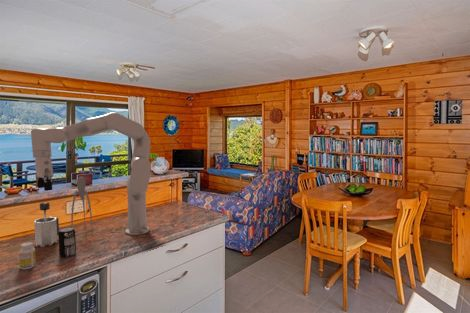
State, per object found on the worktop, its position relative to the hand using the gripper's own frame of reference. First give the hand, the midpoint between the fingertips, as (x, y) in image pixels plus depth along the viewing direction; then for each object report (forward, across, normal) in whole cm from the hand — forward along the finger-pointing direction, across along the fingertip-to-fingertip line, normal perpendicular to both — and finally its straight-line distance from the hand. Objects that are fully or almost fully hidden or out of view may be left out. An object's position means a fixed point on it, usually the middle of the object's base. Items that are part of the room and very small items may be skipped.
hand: (45, 188), depth 141 cm
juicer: (+28, +10, -21) cm, 36 cm away
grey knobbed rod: (+25, 0, +1) cm, 25 cm away
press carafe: (+27, +1, 0) cm, 27 cm away
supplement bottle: (+28, -22, +14) cm, 38 cm away
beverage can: (+28, -22, -1) cm, 35 cm away
